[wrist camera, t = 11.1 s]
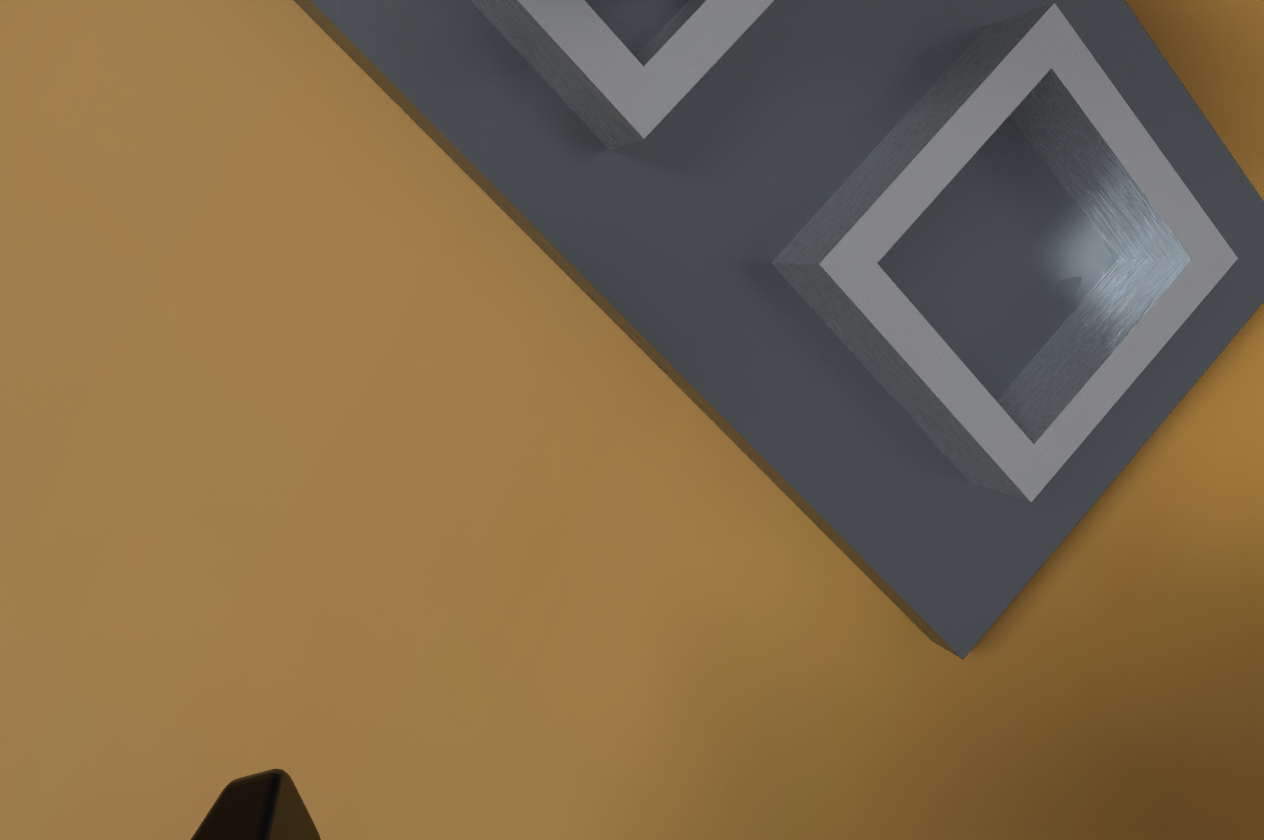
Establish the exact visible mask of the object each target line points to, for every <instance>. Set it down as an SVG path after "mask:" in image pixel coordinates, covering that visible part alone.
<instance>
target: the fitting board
mask: <svg viewBox="0 0 1264 840" xmlns="http://www.w3.org/2000/svg"><path fill="white" fill-rule="evenodd" d="M294 1H295V2H296V3H297V4H298V5H299V6H300V7H301V8H302V9H303V10H304V11H305V12H306V13H307V14H308V15H309V16H310V17H311V18H312V19H313V20H314V21H315V22H316V23H317V24H318V25H319V26H320V27H321V28H322V29H323V30H324V31H325V32H326V33H327V34H328V35H329V36H330V37H331V38H332V39H333V40H334V41H335V42H336V43H337V44H338V45H339V46H340V47H341V48H342V49H343V50H344V51H345V52H346V53H347V54H348V55H349V56H350V57H351V58H352V59H353V60H354V61H355V62H356V63H357V64H358V65H359V66H360V67H361V68H362V69H363V70H364V71H365V72H366V73H367V74H368V75H369V76H370V77H371V78H372V79H373V80H374V81H375V82H376V83H377V84H378V85H379V86H380V87H381V88H382V89H383V90H384V91H385V92H386V93H387V94H388V95H389V96H390V97H391V98H392V99H393V100H394V101H395V102H396V103H397V104H398V105H399V106H400V107H401V108H402V109H403V110H404V111H405V112H406V113H407V114H408V115H409V116H410V117H411V118H412V119H413V120H414V121H415V122H416V123H417V124H418V125H419V127H420V128H421V129H422V130H423V131H424V132H425V133H426V134H427V135H428V136H429V137H430V138H431V139H432V140H433V141H434V142H435V143H436V144H437V145H438V146H439V147H440V148H441V149H442V150H443V151H444V152H445V153H446V154H447V155H448V156H449V157H450V158H451V159H452V160H453V161H454V162H455V163H456V164H457V165H458V166H459V167H460V168H461V169H462V170H463V171H464V172H465V173H466V174H467V175H468V176H469V177H470V178H471V179H472V180H473V181H474V182H475V183H476V184H477V185H478V186H479V187H480V188H481V189H482V190H483V191H484V192H485V193H486V194H487V195H488V196H489V197H490V198H491V199H492V200H493V201H494V202H495V203H496V204H497V205H498V206H499V207H500V208H501V209H502V210H503V211H504V212H505V213H506V214H507V215H508V216H509V217H510V218H511V219H512V220H513V221H514V222H515V223H516V224H517V225H518V226H519V227H520V228H521V229H522V230H523V231H524V232H525V233H526V234H527V235H528V236H529V237H530V238H531V239H532V240H533V241H534V242H535V243H536V244H537V245H538V246H539V247H540V248H541V249H542V250H543V251H544V252H545V253H546V254H547V255H548V256H549V257H550V258H551V259H552V260H553V261H554V262H555V263H556V264H557V265H558V266H559V267H560V268H561V269H562V270H563V271H564V272H565V273H566V274H567V275H568V276H569V277H570V278H571V279H572V280H573V281H574V282H575V283H576V284H577V285H578V286H579V287H580V288H581V289H582V290H583V291H584V292H585V293H586V294H587V295H588V296H589V297H590V298H591V299H592V300H593V301H594V302H595V303H596V304H597V305H598V306H599V307H600V308H601V309H602V310H603V311H604V312H605V313H606V314H607V315H608V316H609V317H610V318H611V319H612V320H613V321H614V322H615V323H616V324H617V325H618V326H619V327H620V328H621V329H622V330H623V331H624V332H625V333H626V334H627V335H628V336H629V337H630V338H631V339H632V340H633V341H634V342H635V343H636V344H637V345H638V346H639V347H640V348H641V349H642V350H643V351H644V352H645V353H646V354H647V355H648V356H649V357H650V358H651V359H652V360H653V361H654V362H655V363H656V364H657V365H658V366H659V367H660V368H661V369H662V370H663V371H664V372H665V373H666V374H667V375H668V376H669V377H670V378H671V379H672V380H673V381H674V382H675V384H676V385H677V386H678V387H679V388H680V389H681V390H682V391H683V392H684V393H685V394H686V395H687V396H688V397H689V398H690V399H691V400H692V401H693V402H694V403H695V404H696V405H697V406H698V407H699V408H700V409H701V410H702V411H703V412H704V413H705V414H706V415H707V416H708V417H709V418H710V419H711V420H712V421H713V422H714V423H715V424H716V425H717V426H718V427H719V428H720V429H721V430H722V431H723V432H724V433H725V434H726V435H727V436H728V437H729V438H730V439H731V440H732V441H733V442H734V443H735V444H736V445H737V446H738V447H739V448H740V449H741V450H742V451H743V452H744V453H745V454H746V455H747V456H748V457H749V458H750V459H751V460H752V461H753V462H754V463H755V464H756V465H757V466H758V467H759V468H760V469H761V470H762V471H763V472H764V473H765V474H766V475H767V476H768V477H769V478H770V479H771V480H772V481H773V482H774V483H775V484H776V485H777V486H778V487H779V488H780V489H781V490H782V491H783V492H784V493H785V494H786V495H787V496H788V497H789V498H790V499H791V500H792V501H793V502H794V503H795V504H796V505H797V506H798V507H799V508H800V509H801V510H802V511H803V512H804V513H805V514H806V515H807V516H808V517H809V518H810V519H811V520H812V521H813V522H814V523H815V524H816V525H817V526H818V527H819V528H820V529H821V530H822V531H823V532H824V533H825V534H826V535H827V536H828V537H829V538H830V539H831V540H832V541H833V542H834V543H835V544H836V545H837V546H838V547H839V548H840V549H841V550H842V551H843V552H844V553H845V554H846V555H847V556H848V557H849V558H850V559H851V560H852V561H853V562H854V563H855V564H856V565H857V566H858V567H859V568H860V569H861V570H862V571H863V572H864V573H865V574H866V575H867V576H868V577H869V578H870V579H871V580H872V581H873V582H874V583H875V584H876V585H877V586H878V587H879V588H880V589H881V590H882V591H883V592H884V593H885V594H886V595H887V596H888V597H889V598H890V599H891V600H892V601H893V602H894V603H895V604H896V605H897V606H898V607H899V608H900V609H901V610H902V611H903V612H904V613H905V614H906V615H907V616H908V617H909V618H910V619H911V620H912V621H913V622H914V623H915V624H916V625H917V626H918V627H919V628H920V629H921V630H922V631H923V632H924V633H925V634H926V635H927V636H928V637H929V638H930V639H931V640H932V641H933V642H934V643H936V644H938V645H940V646H941V647H943V648H945V649H946V650H948V651H950V652H951V653H953V654H955V655H956V656H958V657H960V658H961V659H964V658H965V657H966V656H967V654H968V653H969V652H970V651H971V650H972V648H973V647H974V646H975V645H976V644H977V643H978V641H979V640H980V639H981V638H982V637H983V635H984V634H985V633H986V632H987V631H988V629H989V628H990V627H991V626H992V625H993V623H994V622H995V621H996V620H997V619H998V618H999V616H1000V615H1001V614H1002V613H1003V612H1004V610H1005V609H1006V608H1007V607H1008V606H1009V604H1010V603H1011V602H1012V601H1013V600H1014V598H1015V597H1016V596H1017V595H1018V594H1019V593H1020V591H1021V590H1022V589H1023V588H1024V587H1025V585H1026V584H1027V583H1028V582H1029V581H1030V579H1031V578H1032V577H1033V576H1034V575H1035V573H1036V572H1037V571H1038V570H1039V569H1040V567H1041V566H1042V565H1043V564H1044V563H1045V562H1046V560H1047V559H1048V558H1049V557H1050V556H1051V554H1052V553H1053V552H1054V551H1055V550H1056V548H1057V547H1058V546H1059V545H1060V544H1061V542H1062V541H1063V540H1064V539H1065V538H1066V537H1067V535H1068V534H1069V533H1070V532H1071V531H1072V529H1073V528H1074V527H1075V526H1076V525H1077V523H1078V522H1079V521H1080V520H1081V519H1082V517H1083V516H1084V515H1085V514H1086V513H1087V512H1088V510H1089V509H1090V508H1091V507H1092V506H1093V504H1094V503H1095V502H1096V501H1097V500H1098V498H1099V497H1100V496H1101V495H1102V494H1103V492H1104V491H1105V490H1106V489H1107V488H1108V486H1109V485H1110V484H1111V483H1112V482H1113V481H1114V479H1115V478H1116V477H1117V476H1118V475H1119V473H1120V472H1121V471H1122V470H1123V469H1124V467H1125V466H1126V465H1127V464H1128V463H1129V461H1130V460H1131V459H1132V458H1133V457H1134V456H1135V454H1136V453H1137V452H1138V451H1139V450H1140V448H1141V447H1142V446H1143V445H1144V444H1145V442H1146V441H1147V440H1148V439H1149V438H1150V436H1151V435H1152V434H1153V433H1154V432H1155V431H1156V429H1157V428H1158V427H1159V426H1160V425H1161V423H1162V422H1163V421H1164V420H1165V419H1166V417H1167V416H1168V415H1169V414H1170V413H1171V411H1172V410H1173V409H1174V408H1175V407H1176V405H1177V404H1178V403H1179V402H1180V401H1181V400H1182V398H1183V397H1184V396H1185V395H1186V394H1187V392H1188V391H1189V390H1190V389H1191V388H1192V386H1193V385H1194V384H1195V383H1196V382H1197V380H1198V379H1199V378H1200V377H1201V376H1202V375H1203V373H1204V372H1205V371H1206V370H1207V369H1208V367H1209V366H1210V365H1211V364H1212V363H1213V361H1214V360H1215V359H1216V358H1217V357H1218V355H1219V354H1220V353H1221V352H1222V351H1223V350H1224V348H1225V347H1226V346H1227V345H1228V344H1229V342H1230V341H1231V340H1232V339H1233V338H1234V336H1235V335H1236V334H1237V333H1238V332H1239V330H1240V329H1241V328H1242V327H1243V326H1244V324H1245V323H1246V322H1247V321H1248V320H1249V319H1250V317H1251V316H1252V315H1253V314H1254V313H1255V311H1256V310H1257V309H1258V308H1259V307H1260V305H1261V304H1262V303H1263V302H1264V201H1263V200H1262V198H1261V197H1260V195H1259V194H1258V193H1257V191H1256V190H1255V188H1254V187H1253V185H1252V184H1251V182H1250V181H1249V180H1248V178H1247V177H1246V175H1245V174H1244V172H1243V171H1242V169H1241V168H1240V167H1239V165H1238V164H1237V162H1236V161H1235V159H1234V158H1233V156H1232V155H1231V153H1230V152H1229V151H1228V149H1227V148H1226V146H1225V145H1224V143H1223V142H1222V140H1221V139H1220V138H1219V136H1218V135H1217V133H1216V132H1215V130H1214V129H1213V127H1212V126H1211V125H1210V123H1209V122H1208V120H1207V119H1206V117H1205V116H1204V114H1203V113H1202V112H1201V110H1200V109H1199V107H1198V106H1197V104H1196V103H1195V101H1194V100H1193V99H1192V97H1191V96H1190V94H1189V93H1188V91H1187V90H1186V88H1185V87H1184V85H1183V84H1182V83H1181V81H1180V80H1179V78H1178V77H1177V75H1176V74H1175V72H1174V71H1173V70H1172V68H1171V67H1170V65H1169V64H1168V62H1167V61H1166V59H1165V58H1164V57H1163V55H1162V54H1161V52H1160V51H1159V49H1158V48H1157V46H1156V45H1155V44H1154V42H1153V41H1152V39H1151V38H1150V36H1149V35H1148V33H1147V32H1146V30H1145V29H1144V28H1143V26H1142V25H1141V23H1140V22H1139V20H1138V19H1137V17H1136V16H1135V15H1134V13H1133V12H1132V10H1131V9H1130V7H1129V6H1128V4H1127V3H1126V2H1125V0H294Z"/></svg>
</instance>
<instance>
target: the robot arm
mask: <svg viewBox="0 0 1264 840" xmlns="http://www.w3.org/2000/svg"><path fill="white" fill-rule="evenodd" d="M191 840H321V839H320V836H319V833H318V831H317V829H316V827H315V825H314V823H313V821H312V819H311V817H310V815H309V813H308V811H307V809H306V807H305V805H304V803H303V801H302V799H301V797H300V795H299V793H298V791H297V789H296V787H295V785H294V783H293V781H292V779H291V777H290V776H289V775H288V774H287V773H286V772H285V771H284V770H281V769H272V770H268V771H264V772H261V773H257V774H253V775H249V776H245V777H242V778H238V779H235V780H233V781H232V782H230V783H229V784H228V785H227V786H226V787H225V788H224V790H223V791H222V792H221V794H220V796H219V797H218V799H217V800H216V802H215V803H214V805H213V806H212V808H211V809H210V811H209V812H208V814H207V815H206V817H205V818H204V820H203V822H202V823H201V825H200V826H199V828H198V829H197V831H196V832H195V834H194V835H193V837H192V838H191Z"/></svg>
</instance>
